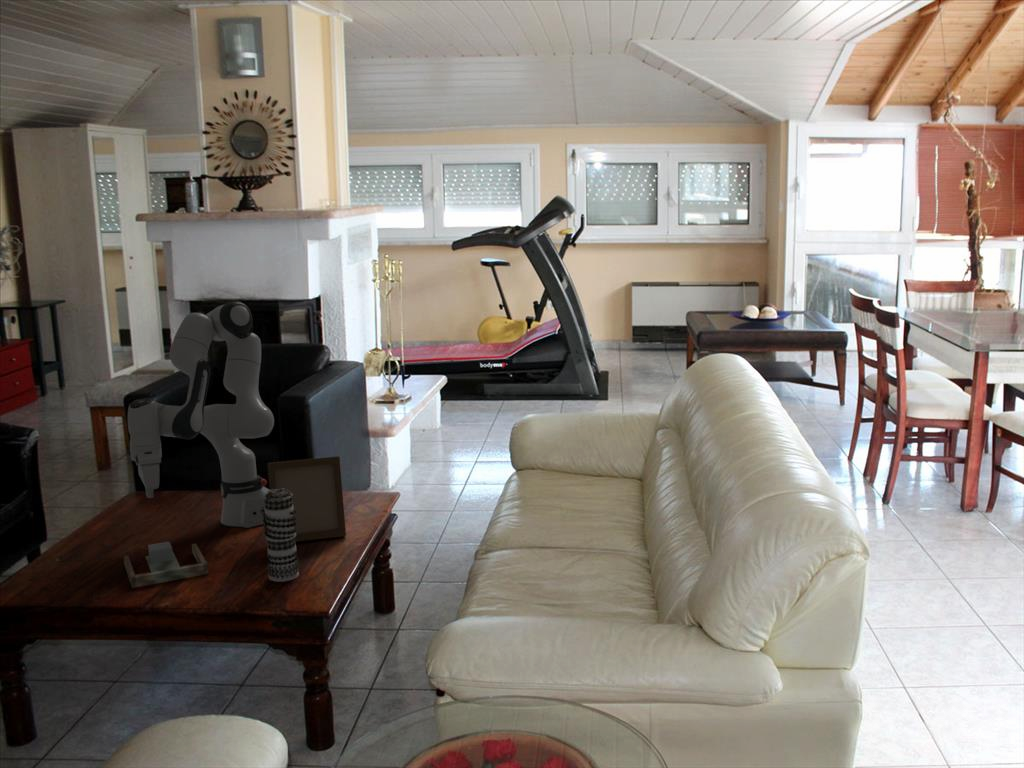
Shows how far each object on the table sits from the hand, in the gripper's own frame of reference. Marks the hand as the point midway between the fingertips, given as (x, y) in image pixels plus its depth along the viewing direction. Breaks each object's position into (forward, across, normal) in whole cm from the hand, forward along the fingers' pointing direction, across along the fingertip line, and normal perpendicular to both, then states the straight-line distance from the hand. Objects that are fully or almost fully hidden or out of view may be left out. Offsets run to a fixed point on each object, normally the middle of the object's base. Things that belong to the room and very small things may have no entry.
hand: (149, 496), depth 301 cm
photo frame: (+16, +13, +44) cm, 49 cm away
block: (+16, +12, 0) cm, 20 cm away
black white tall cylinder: (+17, +43, +29) cm, 54 cm away
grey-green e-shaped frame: (+16, +19, +1) cm, 25 cm away
